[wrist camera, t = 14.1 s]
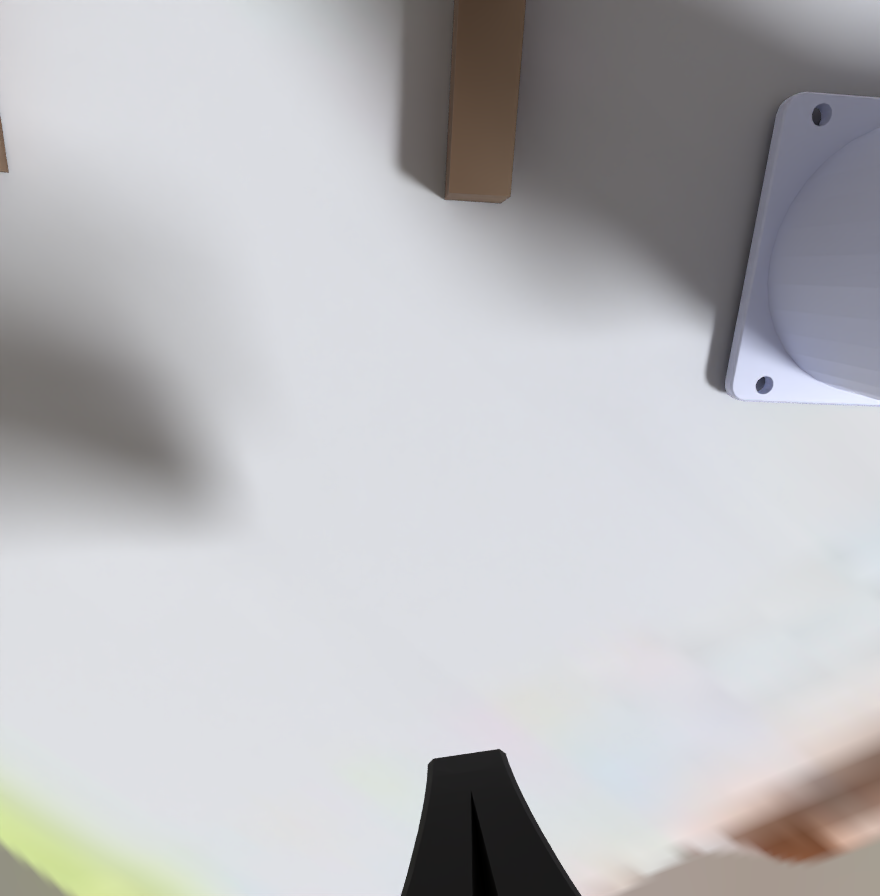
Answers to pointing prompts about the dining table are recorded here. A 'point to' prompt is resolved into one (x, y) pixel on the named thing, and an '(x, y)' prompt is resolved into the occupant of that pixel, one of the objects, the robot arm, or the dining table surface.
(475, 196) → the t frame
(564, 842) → the dining table surface
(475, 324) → the dining table surface
